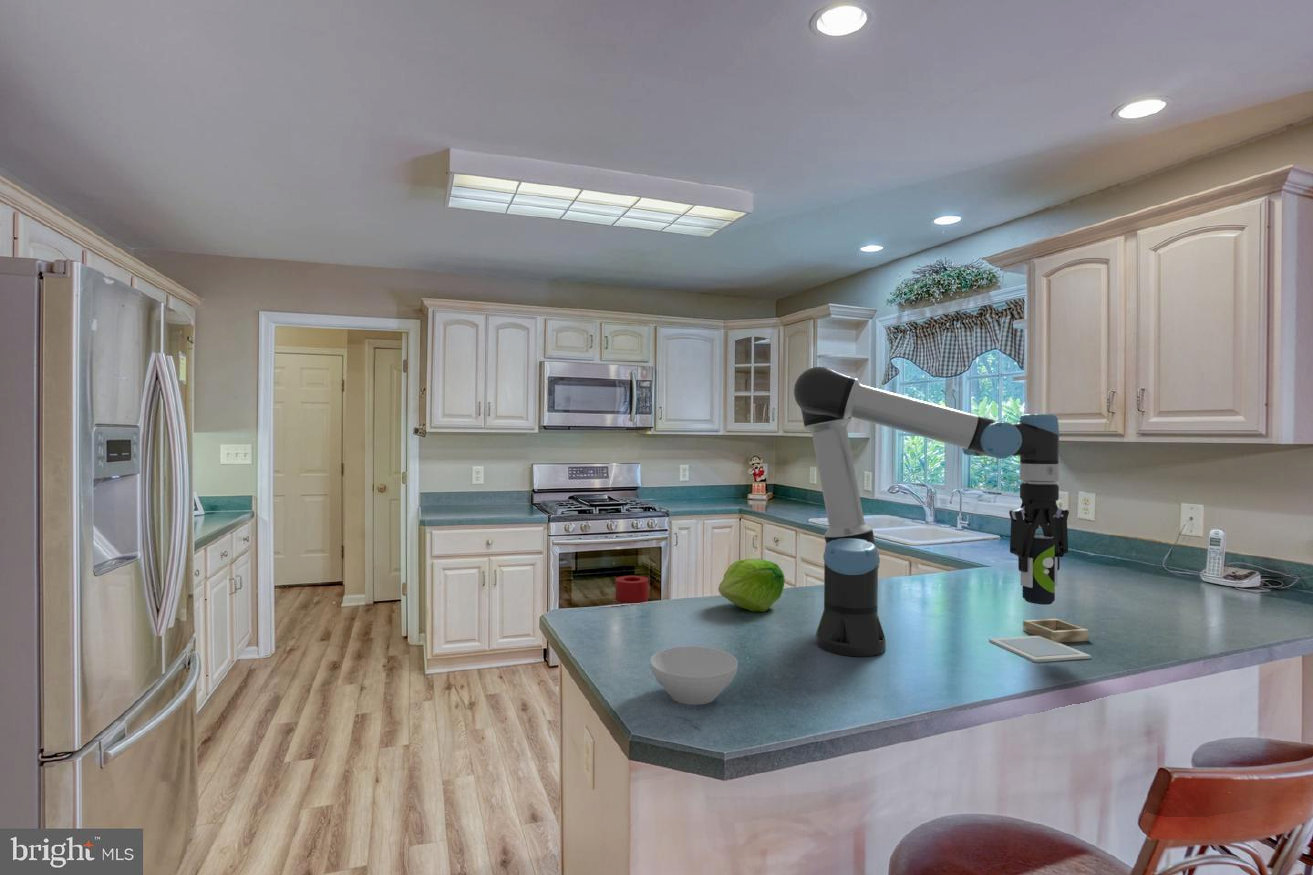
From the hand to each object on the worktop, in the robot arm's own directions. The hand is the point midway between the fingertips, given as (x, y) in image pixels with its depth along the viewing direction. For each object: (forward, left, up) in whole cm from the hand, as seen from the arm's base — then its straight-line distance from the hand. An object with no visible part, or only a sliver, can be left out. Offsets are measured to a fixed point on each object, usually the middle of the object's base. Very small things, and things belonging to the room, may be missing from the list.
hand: (1038, 585), depth 143 cm
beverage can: (0, 0, -4) cm, 4 cm away
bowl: (-83, -12, -15) cm, 85 cm away
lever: (-83, +61, -15) cm, 104 cm away
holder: (+12, +8, -14) cm, 20 cm away
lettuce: (-53, +43, -15) cm, 70 cm away
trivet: (0, 0, -14) cm, 14 cm away
